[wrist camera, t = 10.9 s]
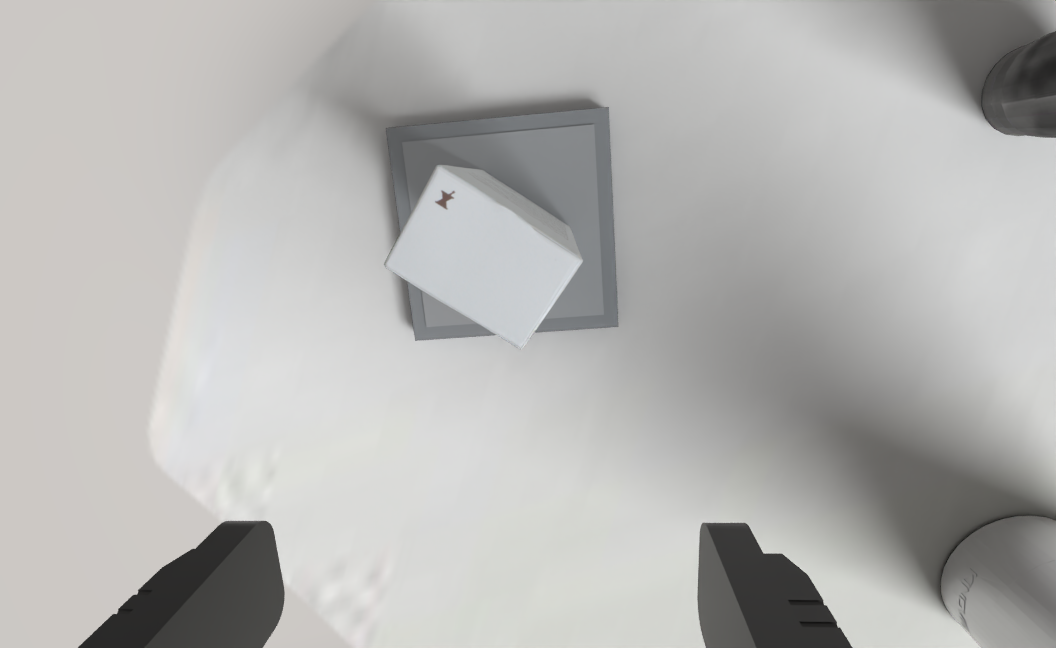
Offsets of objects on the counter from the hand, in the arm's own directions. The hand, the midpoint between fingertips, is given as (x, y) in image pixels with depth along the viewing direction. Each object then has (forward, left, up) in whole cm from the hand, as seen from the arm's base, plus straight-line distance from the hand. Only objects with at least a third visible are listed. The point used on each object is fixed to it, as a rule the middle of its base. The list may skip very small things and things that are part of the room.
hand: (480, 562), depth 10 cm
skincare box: (+1, -4, -22) cm, 23 cm away
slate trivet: (+1, -4, -24) cm, 24 cm away
